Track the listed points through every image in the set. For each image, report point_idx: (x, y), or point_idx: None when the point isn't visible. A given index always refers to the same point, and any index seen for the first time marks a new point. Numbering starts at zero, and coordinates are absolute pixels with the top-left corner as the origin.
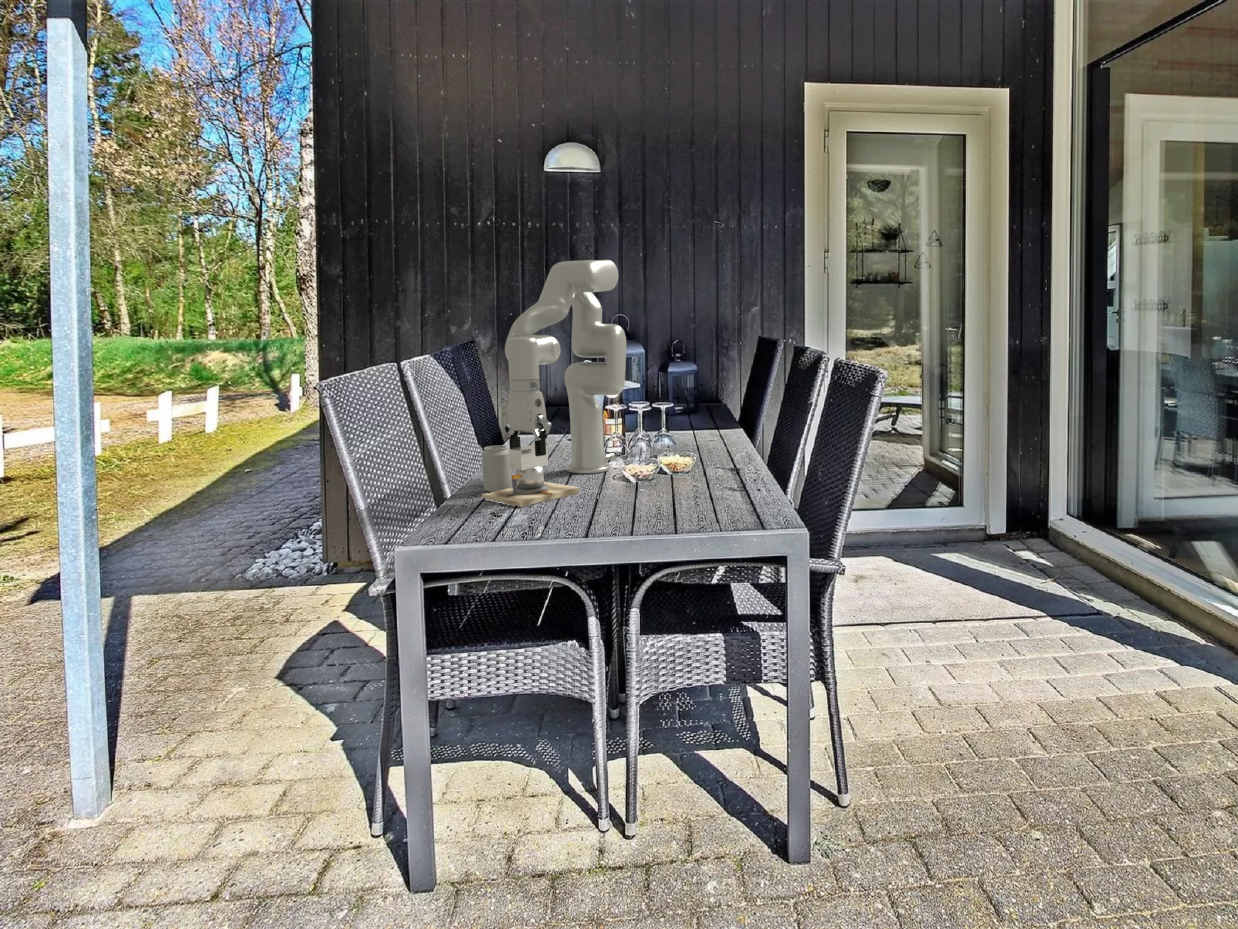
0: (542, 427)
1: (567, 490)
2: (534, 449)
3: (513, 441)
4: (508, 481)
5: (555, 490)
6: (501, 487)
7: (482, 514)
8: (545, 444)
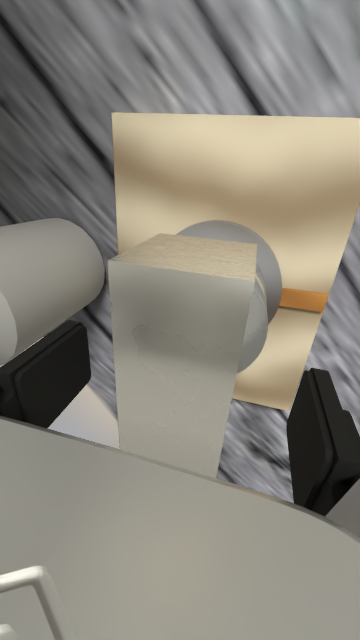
0: (275, 529)
1: (357, 208)
2: (232, 394)
3: (48, 411)
4: (89, 268)
5: (303, 238)
6: (96, 290)
7: (239, 460)
8: (346, 426)
